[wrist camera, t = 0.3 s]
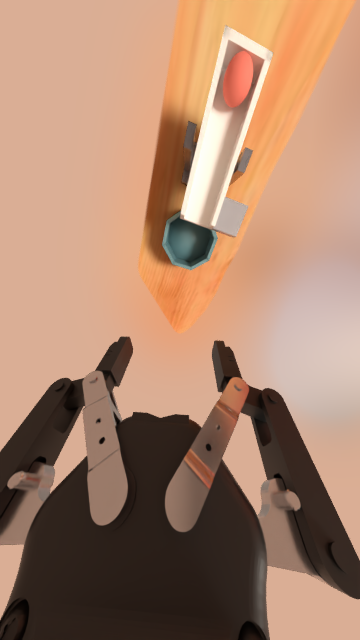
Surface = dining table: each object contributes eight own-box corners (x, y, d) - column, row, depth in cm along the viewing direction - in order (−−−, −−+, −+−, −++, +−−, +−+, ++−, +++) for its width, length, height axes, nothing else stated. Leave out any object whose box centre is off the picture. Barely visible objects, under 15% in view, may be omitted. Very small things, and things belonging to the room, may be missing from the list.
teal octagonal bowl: (173, 203, 28) (170, 199, 24) (218, 220, 29) (224, 220, 25) (162, 255, 34) (159, 260, 29) (201, 267, 35) (203, 274, 31)
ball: (227, 64, 15) (236, 30, 12) (251, 78, 15) (265, 47, 13) (215, 108, 17) (221, 86, 14) (238, 119, 17) (247, 99, 14)
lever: (211, 90, 18) (225, 24, 13) (272, 121, 19) (307, 72, 14) (180, 222, 24) (180, 213, 19) (227, 239, 26) (239, 235, 20)
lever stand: (189, 143, 23) (191, 98, 15) (235, 163, 25) (261, 132, 16) (181, 182, 26) (179, 163, 18) (222, 199, 27) (238, 188, 19)
